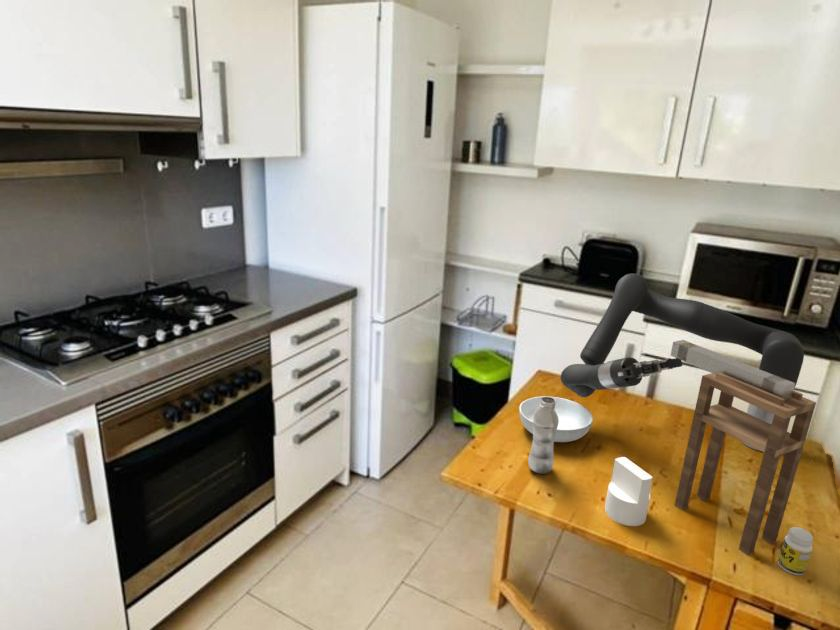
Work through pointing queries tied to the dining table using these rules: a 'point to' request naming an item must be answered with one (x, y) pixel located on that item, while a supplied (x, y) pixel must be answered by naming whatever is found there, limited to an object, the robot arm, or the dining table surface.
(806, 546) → the supplement bottle
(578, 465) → the dining table surface
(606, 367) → the robot arm
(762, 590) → the dining table surface
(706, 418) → the walnut shelf
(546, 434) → the plastic bottle
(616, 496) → the base with upright slab
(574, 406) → the serving bowl
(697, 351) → the bar
